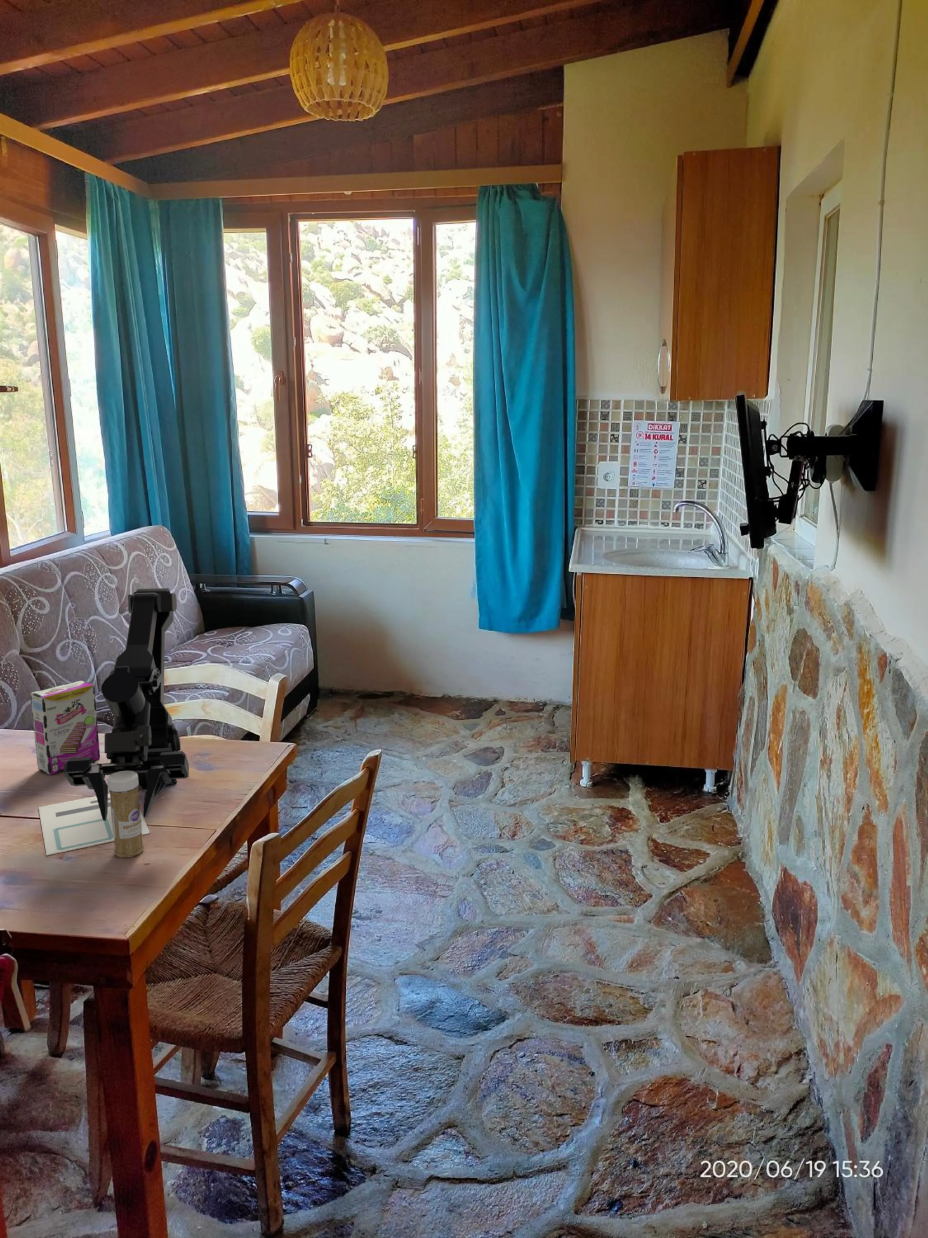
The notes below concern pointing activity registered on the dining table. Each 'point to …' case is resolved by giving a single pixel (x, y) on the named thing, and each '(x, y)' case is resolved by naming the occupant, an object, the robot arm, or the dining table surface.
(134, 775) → the sprinkles bottle
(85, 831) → the paper sheet
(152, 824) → the dining table surface
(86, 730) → the candy bar box
